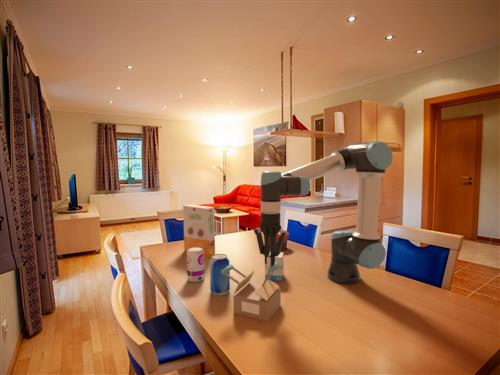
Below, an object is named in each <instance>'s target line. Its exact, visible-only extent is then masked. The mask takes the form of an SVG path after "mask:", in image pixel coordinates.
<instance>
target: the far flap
mask: <svg viewBox="0 0 500 375" xmlns="http://www.w3.org/2000/svg"><path fill="white" fill-rule="evenodd" d="M231 270H233V271H235V273H237V274H239V275H240V276H241V277H243V279H241V280H240V281H238V280H237V279H236V278H234V277H233V276H231V275H229V274H227V272H229V271H231ZM254 272H255V271H254V270H252V271H251V272H250V273H249V274H247V275H245V274H244V273H242V272H241V271H240V270H238V269H237V268H235V267H234V265H233V264H229V266H228V267H226V268H224V269H223V270H222V271H221V273H222V274H223V275H224V274H225V275H226V276H227V277H229V278H230V280H232V281H233V282H234V283H236V285H237V286H236V288H235V290H234V292H233V295H234V294H235V293H236V292H238V291H239V290H240V289H241V288H242V287H243V286H244V285H246V284H247V283H248V282H250V281H251V279H252V277H253V275H254Z"/></svg>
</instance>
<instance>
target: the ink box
mask: <svg viewBox="0 0 500 375" xmlns="http://www.w3.org/2000/svg"><path fill="white" fill-rule="evenodd" d="M284 254H285V253H284V252H282V251H281V252H280V254H279V255H278V256H277V257H276V256H275V262H277V263H278V267H277V268H276V269H275V270H274V272H273V274H272V277H271V279H270V280H271V281H277V282H282V281H283V278H284V274H285V273H284V272H285V271H284V267H285V266H284ZM269 255H270V254H269ZM270 275H271V274H270ZM270 275H269V277H270ZM266 276H267V264H265V263H264V280H265V279H266ZM269 277H268V279H269ZM268 279H267V280H268Z"/></svg>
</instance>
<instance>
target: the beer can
mask: <svg viewBox="0 0 500 375" xmlns="http://www.w3.org/2000/svg"><path fill="white" fill-rule="evenodd" d="M229 265H230V260H229V258H228V254H225V253H217V254H216V253H215V255H213V256H212V257H211V259H210V261H209V277H210V278H209V279H210V280H209V281H210V283H209V284H210V285H209V286H210V287H209V288H210V291H211V293H212V295H215V296H224V295H226V294H228V293H229V291H230V289H231V282H230V280H231V279H230V278H229V277H227V276H226V275H225V274H224V275H223V274H222V273H221V271H222V270H223V269H224V268H226V267H228V266H229ZM230 271H231V270H230ZM230 271H229V272H227V274H229V275H230ZM230 276H231V275H230Z"/></svg>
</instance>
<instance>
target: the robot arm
mask: <svg viewBox="0 0 500 375" xmlns="http://www.w3.org/2000/svg"><path fill="white" fill-rule="evenodd" d="M392 163H393V151H392V149H391V147H390V146H389V145H388V144H387V143H386V142H384V141H374V140H373V141H365V142H357V143H353V144H349V145H347V146H345V147H342V148H340V149H337V150H335V151H333V152H331V154H330V155H329V156H326V157H324V158H320V159H318V160H315V161H312V162H310V163H307V164H305V165H303V166H300V167H297V168H294V169H292V170H289V171H286V172H284V173H282V172H280V171H267V170H266V171H263V172H261V177H260V211H261V213H260V224H259V227H256V228H255V229H254V230H253V232H254V234H255V236H256V240H257V245H258V250H259V253H260V255H263V256H264V265H265V264H267V274H268V272H269V270H268V269H269V267H271V266H272V265H274V264H275V256H276V257H277V256H278V255H279V254H280V252H282V250H281V248H282V244H283V241H284V237H285V236H286V234H287V232H288V231H287V230H285V231H283V230H284V229H282V226H281V213H280V212H281V204H282V203H281V201H282V197H298V196H299V197H301V196H307V195H308V194H309V192H310V190H311V181H314V180H317V179H320V178H322V177H325V176H326V175H329V174H332V173H334V172H343V171H345V170H354V169H355V173H356V175H357V176H358V178H359V179H358V189H357V190H358V191H357V192H358V193H357V207H356V208H357V209H356V222H355V230H347V229H345V230H336V231H335V230H334V231H333V232H332V233H331V238H330V240H331V244H330V245H331V246H330V247H331V250H330V251H331V252H330V253H331V259H330V264H329V266H328V268H327V278H328V279H329V280H331V281H333V282H336V283H338V284H346V285H350V284H351V285H352V284H356V283H358V282H360V280H361V274H360V270H359V267H358V265H359V266H360V267H362V268H366V269H367V270H368V269H369V270H373V269H377V268H379V266H380V265H381V264H382V263H384V261H385V259H386V254H387V250H386V248H385V246H384V245H383V244H382V243H381V236H380V235H379V234H378V223H379V208H380V196H381V195H380V194H381V182H382V181H381V179H382V177H383V176H384V175H386V169H388V168H389V167H390V166H391V165H392ZM286 231H287V232H286ZM279 232H280V237H279V241H278V244H277V248H276V235H277V234H278V233H279ZM262 234H263V235H262ZM270 240H271V247H270ZM269 254H270V255H269ZM271 273H272V272H270V274H271Z"/></svg>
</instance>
